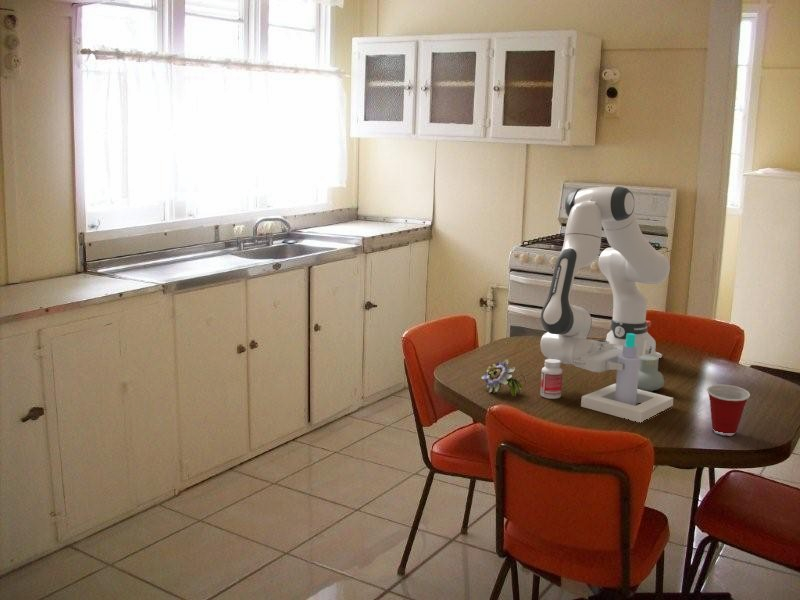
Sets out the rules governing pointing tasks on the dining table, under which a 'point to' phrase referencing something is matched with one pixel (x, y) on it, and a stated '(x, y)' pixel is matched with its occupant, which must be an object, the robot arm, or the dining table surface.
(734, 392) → the plastic cup
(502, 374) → the passion flower
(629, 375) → the spray bottle
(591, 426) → the dining table surface
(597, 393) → the hole block
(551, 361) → the pill bottle
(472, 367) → the dining table surface
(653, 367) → the air freshener
